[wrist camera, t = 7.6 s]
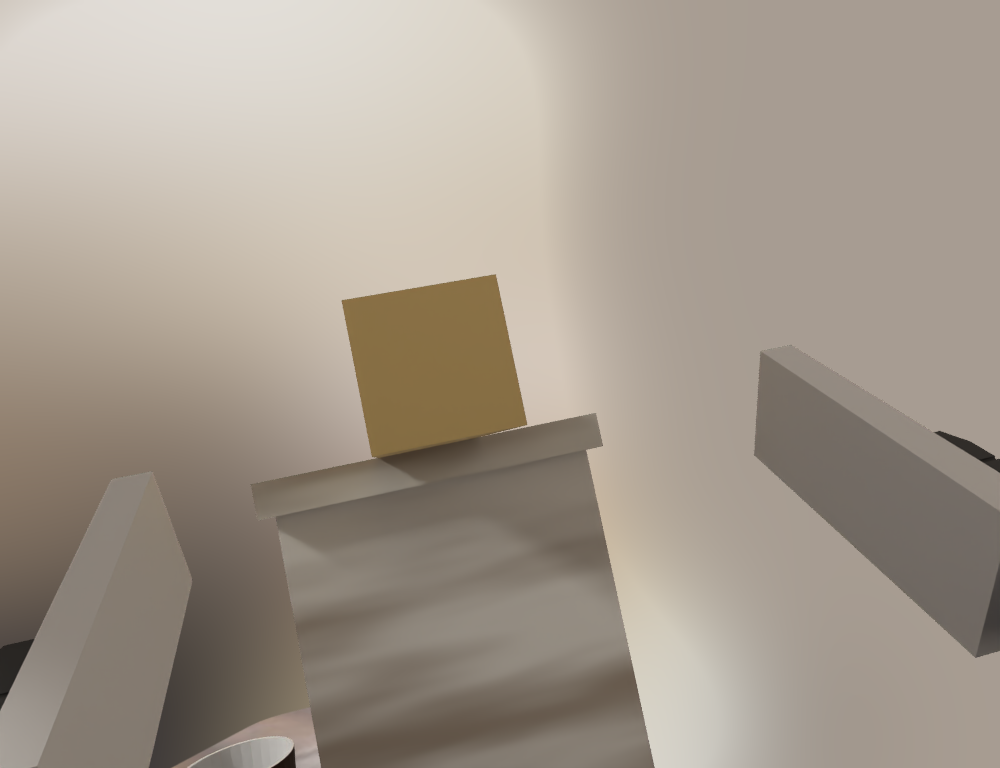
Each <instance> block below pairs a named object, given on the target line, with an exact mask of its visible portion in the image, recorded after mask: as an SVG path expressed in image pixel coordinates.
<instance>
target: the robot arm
mask: <svg viewBox="0 0 1000 768" xmlns="http://www.w3.org/2000/svg"><path fill="white" fill-rule="evenodd" d="M754 455H755V456H756V457H757V458H758V459H759V460H760V461H761V462H762V463H764V465H766V466H767V467H768V468H769V469H770V470H771V471H772V472H773V473H774V474H775V475H777V476H778V477H779V478H780V479H781V480H782V481H783V482H784V483H785V484H786V485H787V486H788V487H790V488H791V489H792V490H793V491H794V492H795V493H796V494H797V495H798V496H799V497H800V498H802V499H803V500H804V501H805V502H806V503H807V504H808V505H809V506H810V507H811V508H813V509H814V510H815V511H816V512H817V513H818V514H819V515H820V516H821V517H822V518H824V519H825V520H826V521H827V522H828V523H829V524H830V525H831V526H832V527H833V528H834V529H835V530H837V531H838V532H839V533H840V534H841V535H842V536H843V537H844V538H845V539H846V540H848V541H849V542H850V543H851V544H852V545H853V546H854V547H855V548H856V549H857V550H858V551H859V552H861V553H862V554H863V555H864V556H865V557H866V558H867V559H868V560H869V561H870V562H871V563H873V564H874V565H875V566H876V567H877V568H878V569H879V570H880V571H881V572H882V573H883V574H885V575H886V576H887V577H888V578H889V579H890V580H891V581H892V582H893V583H894V584H895V585H897V586H898V587H899V588H900V589H901V590H902V591H903V592H904V593H906V595H907V596H909V597H910V598H911V599H912V600H913V601H914V602H915V603H916V604H917V605H918V606H919V607H921V608H922V609H923V610H924V611H925V612H926V613H927V614H928V615H929V616H931V617H932V618H933V619H934V620H935V621H936V622H937V623H938V624H940V626H941V627H943V628H944V629H945V630H946V631H947V632H948V633H949V634H950V635H951V636H952V637H954V639H956V640H957V641H958V642H959V643H960V644H961V645H962V646H963V647H964V648H965V649H967V650H968V651H969V652H970V653H971V654H972V655H973V656H974V657H975V658H977V657H980V656H983V655H987V654H990V653H994V652H997V651H1000V459H997V460H996V459H995V456H994V455H992V454H990V453H988V452H987V451H985V450H984V449H982V448H980V447H979V446H977V445H975V444H973V443H972V442H970V441H967V440H964V439H961V438H958V437H955V436H952V435H949V434H947V433H944V432H941V431H938V432H932V431H931V430H929V429H927V428H926V427H924V426H922V425H921V424H919V423H917V422H916V421H914V420H913V419H911V418H909V417H908V416H906V415H905V414H903V413H901V412H900V411H898V410H896V409H895V408H893V407H891V406H890V405H888V404H887V403H885V402H883V401H882V400H880V399H878V398H877V397H875V396H873V395H872V394H870V393H869V392H867V391H865V390H864V389H862V388H860V387H859V386H857V385H856V384H854V383H852V382H851V381H849V380H847V379H846V378H844V377H842V376H841V375H839V374H838V373H836V372H834V371H833V370H831V369H829V368H828V367H826V366H825V365H823V364H821V363H820V362H818V361H816V360H815V359H813V358H811V357H810V356H808V355H807V354H805V353H803V352H802V351H800V350H799V349H797V348H795V347H794V346H792V345H789V346H784V347H779V348H774V349H769V350H764V351H761V352H760V369H759V385H758V401H757V418H756V435H755V451H754ZM191 584H192V577H191V575H190V572H189V569H188V567H187V564H186V561H185V558H184V556H183V553H182V550H181V548H180V545H179V542H178V540H177V537H176V534H175V531H174V529H173V526H172V523H171V520H170V518H169V515H168V512H167V509H166V507H165V504H164V501H163V499H162V496H161V493H160V490H159V488H158V485H157V482H156V480H155V477H154V474H153V472H152V471H151V472H147V473H141V474H136V475H131V476H126V477H122V478H116V479H112V480H111V481H110V483H109V485H108V487H107V490H106V492H105V494H104V496H103V498H102V500H101V502H100V504H99V506H98V508H97V510H96V512H95V515H94V517H93V519H92V521H91V523H90V525H89V527H88V529H87V531H86V533H85V536H84V537H83V540H82V542H81V544H80V546H79V548H78V550H77V552H76V554H75V556H74V558H73V561H72V562H71V565H70V567H69V569H68V571H67V573H66V575H65V577H64V579H63V581H62V584H61V585H60V587H59V589H58V592H57V594H56V596H55V598H54V600H53V602H52V604H51V606H50V608H49V610H48V612H47V614H46V617H45V619H44V621H43V623H42V625H41V627H40V629H39V631H38V633H37V635H36V637H35V639H32V640H28V641H23V642H19V643H14V644H10V645H6V646H3V647H2V648H1V649H0V768H149V763H150V760H151V755H152V751H153V747H154V742H155V738H156V734H157V729H158V725H159V721H160V717H161V713H162V708H163V704H164V700H165V695H166V691H167V687H168V683H169V678H170V674H171V670H172V666H173V661H174V656H175V653H176V648H177V644H178V640H179V636H180V632H181V627H182V623H183V619H184V615H185V610H186V606H187V602H188V597H189V593H190V588H191Z"/></svg>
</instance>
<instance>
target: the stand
mask: <svg viewBox="0 0 1000 768" xmlns="http://www.w3.org/2000/svg"><path fill="white" fill-rule="evenodd" d="M601 446H603V444H602V439H601V435H600V430H599V426H598V421H597V417H596V413H594V414H589V415H584V416H579V417H574V418H569V419H564V420H560V421H555V422H550V423H545V424H541V425H535V426H531V427H526V428H521V429H517V430H512V431H506V432H502V433H497V434H492V435H487V436H482V437H478V438H473V439H468V440H463V441H458V442H453V443H449V444H444V445H439V446H434V447H429V448H424V449H420V450H415V451H410V452H405V453H400V454H395V455H391V456H386V457H381V458H376V459H371V460H366V461H362V462H357V463H352V464H347V465H342V466H337V467H333V468H328V469H323V470H318V471H314V472H309V473H304V474H299V475H294V476H289V477H284V478H279V479H275V480H270V481H265V482H261V483H256V484H251V487H252V493H253V498H254V504H255V509H256V515H257V520H262V519H266V518H271V517H276V522H277V527H278V533H279V538H280V543H281V549H282V555H283V560H284V565H285V571H286V577H287V582H288V587H289V593H290V598H291V604H292V609H293V615H294V620H295V625H296V631H297V637H298V642H299V648H300V653H301V659H302V664H303V670H304V675H305V681H306V685H307V691H308V697H309V702H310V708H311V713H312V719H313V724H314V730H315V735H316V741H317V746H318V752H319V757H320V763H321V768H654V763H653V759H652V754H651V749H650V745H649V740H648V736H647V731H646V726H645V722H644V717H643V712H642V707H641V703H640V699H639V694H638V689H637V684H636V680H635V675H634V671H633V666H632V661H631V656H630V652H629V647H628V643H627V638H626V633H625V629H624V624H623V620H622V615H621V610H620V606H619V601H618V596H617V591H616V587H615V582H614V577H613V573H612V568H611V564H610V559H609V554H608V550H607V545H606V540H605V536H604V531H603V526H602V522H601V517H600V512H599V508H598V503H597V499H596V494H595V489H594V485H593V480H592V475H591V471H590V466H589V462H588V457H587V452H586V450H587V449H592V448H596V447H601Z"/></svg>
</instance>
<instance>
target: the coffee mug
mask: <svg viewBox="0 0 1000 768" xmlns="http://www.w3.org/2000/svg"><path fill="white" fill-rule="evenodd" d="M187 768H296V765H295V749H294V742H293V740H292V739H290V738H288V737H283V736H269V737H261V738H256V739H251V740H248V741H244V742H240V743H237V744H234V745H231V746H228V747H226V748H223V749H221V750H218V751H216V752H214V753H212V754H209V755H207V756H205V757H204V758H202V759H200V760H198V761H196V762H195V763H193V764H192V765H190V766H189V767H187Z"/></svg>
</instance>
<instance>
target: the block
mask: <svg viewBox="0 0 1000 768" xmlns="http://www.w3.org/2000/svg"><path fill="white" fill-rule="evenodd" d="M342 304H343V309H344V315H345V320H346V325H347V330H348V335H349V340H350V345H351V351H352V356H353V361H354V366H355V372H356V377H357V382H358V387H359V392H360V397H361V402H362V407H363V413H364V418H365V423H366V428H367V434H368V438H369V444H370V449H371V454H372V457H376V458H381V457H386V456H391V455H395V454H400V453H405V452H410V451H415V450H420V449H424V448H429V447H434V446H439V445H444V444H449V443H453V442H458V441H463V440H468V439H473V438H478V437H482V436H486V435H490V434H493V433H497V432H501V431H505V430H509V429H513V428H517V427H521V426H525V425H527V421H526V416H525V412H524V407H523V402H522V397H521V392H520V388H519V383H518V378H517V373H516V369H515V364H514V359H513V355H512V350H511V345H510V340H509V335H508V330H507V326H506V321H505V316H504V311H503V307H502V302H501V298H500V292H499V287H498V283H497V278H496V275H489V276H483V277H478V278H471V279H466V280H460V281H454V282H449V283H442V284H436V285H430V286H424V287H419V288H412V289H406V290H401V291H395V292H389V293H383V294H378V295H371V296H365V297H359V298H353V299H347V300H342Z"/></svg>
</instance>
